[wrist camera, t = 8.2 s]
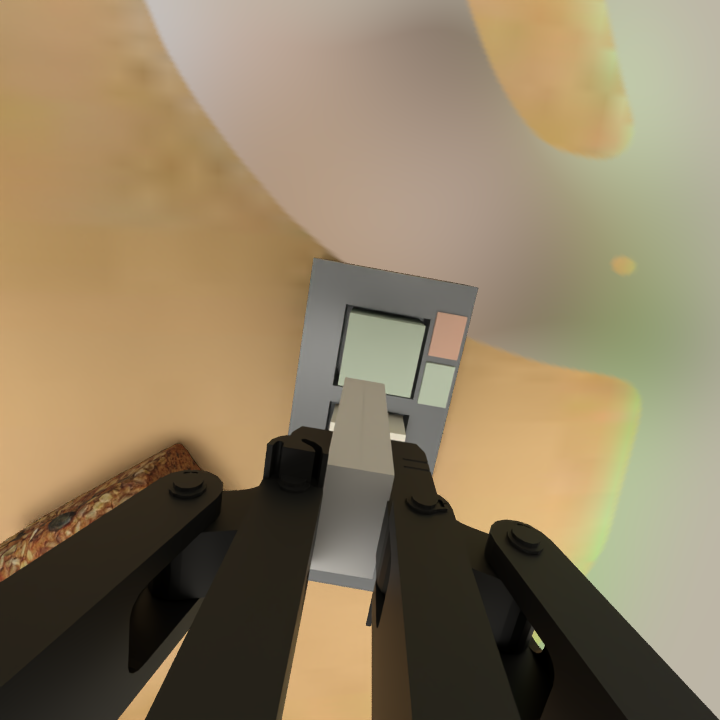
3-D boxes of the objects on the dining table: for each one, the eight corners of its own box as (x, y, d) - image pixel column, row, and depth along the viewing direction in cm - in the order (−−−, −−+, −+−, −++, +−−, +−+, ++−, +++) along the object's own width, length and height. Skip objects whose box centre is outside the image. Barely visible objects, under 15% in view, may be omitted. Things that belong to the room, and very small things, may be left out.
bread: (89, 604, 38) (-7, 719, 29) (18, 519, 36) (-110, 612, 27) (250, 527, 36) (204, 626, 26) (183, 431, 34) (106, 498, 24)
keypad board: (321, 258, 30) (312, 257, 26) (464, 284, 30) (479, 288, 26) (279, 539, 36) (267, 576, 32) (399, 560, 36) (402, 599, 32)
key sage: (352, 307, 29) (350, 312, 26) (419, 319, 29) (425, 326, 26) (341, 371, 30) (337, 384, 27) (405, 382, 30) (409, 397, 27)
